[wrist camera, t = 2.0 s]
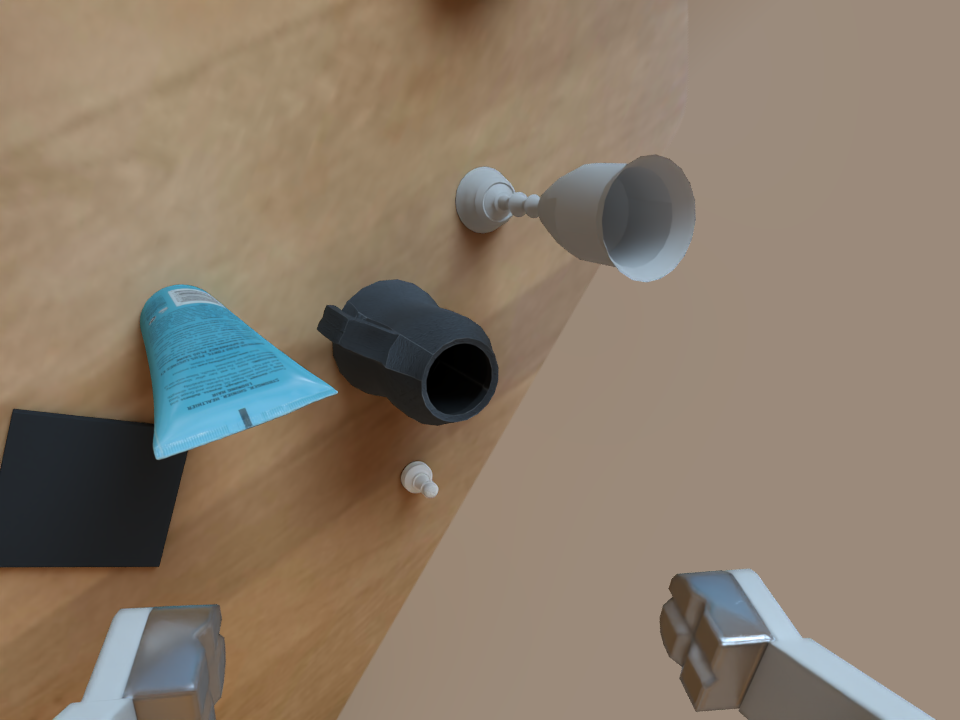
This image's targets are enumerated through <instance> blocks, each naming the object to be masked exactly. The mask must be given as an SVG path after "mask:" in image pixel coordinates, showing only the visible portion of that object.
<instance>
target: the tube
mask: <svg viewBox="0 0 960 720" xmlns="http://www.w3.org/2000/svg"><path fill="white" fill-rule="evenodd" d="M140 328H141V332H142V336H143V340H144V344H145V348H146V353H147V358H148V363H149V368H150V374H151V380H152V388H153V399H154V437H153V450H154V455H155V458H156V459H157V460H161V459H164V458H167V457H170V456H173V455H176V454H179V453H182V452H185V451H188V450H191V449H194V448H196V447H199V446H202V445H205V444H208V443H210V442H213V441H216V440H219V439H222V438H225V437H227V436H230V435H232V434H235V433H238V432H241V431H244V430H246V429H249V428H252V427H255V426H258V425H260V424H263V423H265V422H268V421H271V420H273V419H276V418H278V417H281V416H284V415H287V414H289V413H291V412H293V411H296V410H298V409H301V408H303V407H305V406H307V405H309V404H311V403H313V402H316V401H319V400H322V399H324V398H327V397H329V396H333V395H336V394H337V393H338V392H337V391H336V390H335V389H334V388H333V387H331V386H330V385H329V384H327V383H326V382H324V381H323V380H321V379H320V378H318V377H316V376H315V375H313V374H312V373H310V372H309V371H308V370H306V369H305V368H303V367H302V366H300V365H299V364H298V363H296V362H295V361H293V360H292V359H291V358H289V357H288V356H287V355H285V354H284V353H283V352H281V351H280V350H279V349H277V348H276V347H275V346H273V345H272V344H271V343H269V342H268V341H267V340H266V339H264V338H263V337H262V336H261V335H259V334H258V333H257V332H255V331H254V330H253V329H252V328H250V327H249V326H248V325H247V324H245V323H244V322H243V321H242V320H240V319H239V318H238V317H237V316H235V315H234V314H233V313H232V312H231V311H229V310H228V309H227V308H226V307H225V306H223V305H222V304H221V303H220V302H218V301H217V300H216V299H215V298H214V297H212V296H211V295H210V294H208V293H207V292H206V291H204V290H202V289H200V288H198V287H194V286H190V285H172V286H168V287H166V288H163V289H161V290H159V291H158V292H156V293H155V294H153V295H152V296H151V297H150V298H149V299H148V300H147V302H146V303H145V305H144V307H143V309H142V312H141V316H140Z"/></svg>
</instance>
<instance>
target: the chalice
mask: <svg viewBox="0 0 960 720" xmlns="http://www.w3.org/2000/svg"><path fill="white" fill-rule="evenodd" d="M456 208H457V213H458V215H459V217H460V219H461V221H462V222H463V223H464V225H465V226H466V227H467V228H469V229H470V230H472V231H474V232H478V233H487V232H492V231H494V230H495V229H497V228H498V227H500V226H501V225H503V224H505V223H506V222H508V221H509V219H510V218H511V217H512V216H513V215H514V216H516V217H522V216H523V215H525V214H527V215H528V216H529V217H531V218H537V217H538V216H539V218H540V221H541V222H542V224H543V225H544V226H545V228H546V229H547V230H548V232H549V233H550V234H551V235H552V237H553V238H554V239H555V240H556V242H557V243H558V244H560V245H561V246H562V247H563V248H564V249H566V250H567V251H568V252H569V253H571V254H572V255H574V256H575V257H577V258H579V259H580V260H584V261H589V262H594V263H599V264H604V265H608V266H613V267H616V268H617V269H618V270H619V271H620V272H621V273H623V274H624V275H626V276H627V277H629V278H630V279H632V280H637V281H643V282H648V281H652V280H657V279H661V278H662V277H664V276H665V275H666V274H668V273H669V272H670V271H672V270H674V268H675V267H676V266H677V265H678V263H679V262H680V261H681V259H682V258H683V257H684V256H685V253H686V251H687V249H688V246H689V244H690V242H691V239H692V235H693V230H694V225H695V220H696V219H695V199H694V196H693V192H692V189H691V185H690V182H689V181H688V179H687V177H686V176H685V174H684V172H683V171H682V169H681V168H680V167H679V166H677V165H676V164H675V163H674V162H673V161H672V160H670V159H668V158H665V157H662V156H659V155H648V156H640V157H639V158H637V159H635V160H634V161H632V162H630V163H629V164H619V163H593V164H585V165H583V166H581V167H579V168H577V169H575V170H573V171H571V172H570V173H568V174H566V175H564V176H563V177H561V178H559V179H558V180H557V181H556V182H555V183H554V184H552V185H551V186H550V187H549V188H548V189H547V190H546V191H545V192H544V193H543V194H542V195H541V197H539V196H538V195H530V196H529V197H528V198H527V196H526V195H525V194H524V193H522V192H516V193H515V191H514V188H513V186H512V185H511V184H510V182H509V181H507V180H506V178H505V177H503V175H502V174H501V173H500V172H498V171H497V170H495V169H494V168H489V167H479V168H475V169H473V170H472V171H470V172H468V173H467V174H466V176H465V177H464V178H463V179H462V180H461V182H460V184H459V187H458V189H457V194H456Z"/></svg>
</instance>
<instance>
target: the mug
mask: <svg viewBox="0 0 960 720" xmlns="http://www.w3.org/2000/svg"><path fill="white" fill-rule="evenodd" d="M317 330H318V331H319V332H320V333H321V334H323V335H324V336H325V337H326V338H328V339H329V340H330V341H332V342H333V356H334V358H335V361H336V363H337V366H338V368H339V371H340V373H341V374H342V375H343V376H344V377H345V378H346V379H347V381H348V382H349V383H350V384H351V385H352V386H354V387H356V388H358V389H360V390H362V391H364V392H365V393H368V394H372V395H377V396H383V397H387V398H388V399H389V400H390V401H391V403H392V404H393V405H395V406H396V407H397V408H398V409H400V410H401V411H402V412H404V413H405V414H406V415H407V416H409V417H410V418H412V419H414V420H416V421H418V422H420V423H422V424H429V425H437V426H438V425H443V424H447V423H454V422H459V421H464V420H468V419H469V418H471V417H473V416H475V415H477V414H478V413H479V412H480V411H481V410H482V409H483V408H484V407H485V406H486V405H487V404H488V403H489V401H490V400H491V398H492V396H493V395H494V393H495V389H496V386H497V383H498V364H497V361H496V357H495V354H494V353H493V350H492V346H491V343H490V339H489V338H488V336H487V335H486V334H485V332H484V331H483V329H482V328H481V326H479V325H478V324H476V323H475V322H473V321H472V320H470V319H469V318H467V317H465V316H462V315H460V314H458V313H455V312H453V311H450V310H447V309H443V308H439V306H438V305H437V304H436V302H435V301H434V300H433V299H432V298H431V297H430V295H429V294H428V293H426V292H425V291H423V290H422V289H421V288H419V287H418V286H416V285H415V284H413V283H409V282H405V281H401V280H386V281H378V282H376V283H374V284H371V285H369V286H367V287H365V288H362V289H361V290H360V291H359V292H358V293H357V294H355V295H354V296H353V297H352V298H351V299H350V300H349V301H347V303H346V305H345V306H344V308H343V310H340V309H339V308H338V307H336V306H334V305H327V306H326V308H325V310H324V314H323V318H322V319H321V321H320V322H319V324H318V327H317Z"/></svg>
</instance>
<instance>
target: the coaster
mask: <svg viewBox="0 0 960 720" xmlns="http://www.w3.org/2000/svg"><path fill="white" fill-rule="evenodd" d="M153 437H154V424H149V423H140V422H130V421H121V420H112V419H103V418H93V417H84V416H75V415H66V414H56V413H47V412H38V411H29V410H19V409H13V412H12V417H11V421H10V426H9V431H8V436H7V440H6V445H5V450H4V455H3V459H2V464H1V469H0V567H159V565H160V561H161V557H162V553H163V549H164V545H165V541H166V537H167V533H168V529H169V525H170V521H171V517H172V513H173V509H174V505H175V501H176V497H177V493H178V489H179V485H180V481H181V477H182V473H183V468H184V464H185V460H186V456H187V452H188V451H185V452H182V453H179V454H176V455H173V456H170V457H167V458H164V459H161V460H157V459H156V458H155V455H154V450H153Z"/></svg>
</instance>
